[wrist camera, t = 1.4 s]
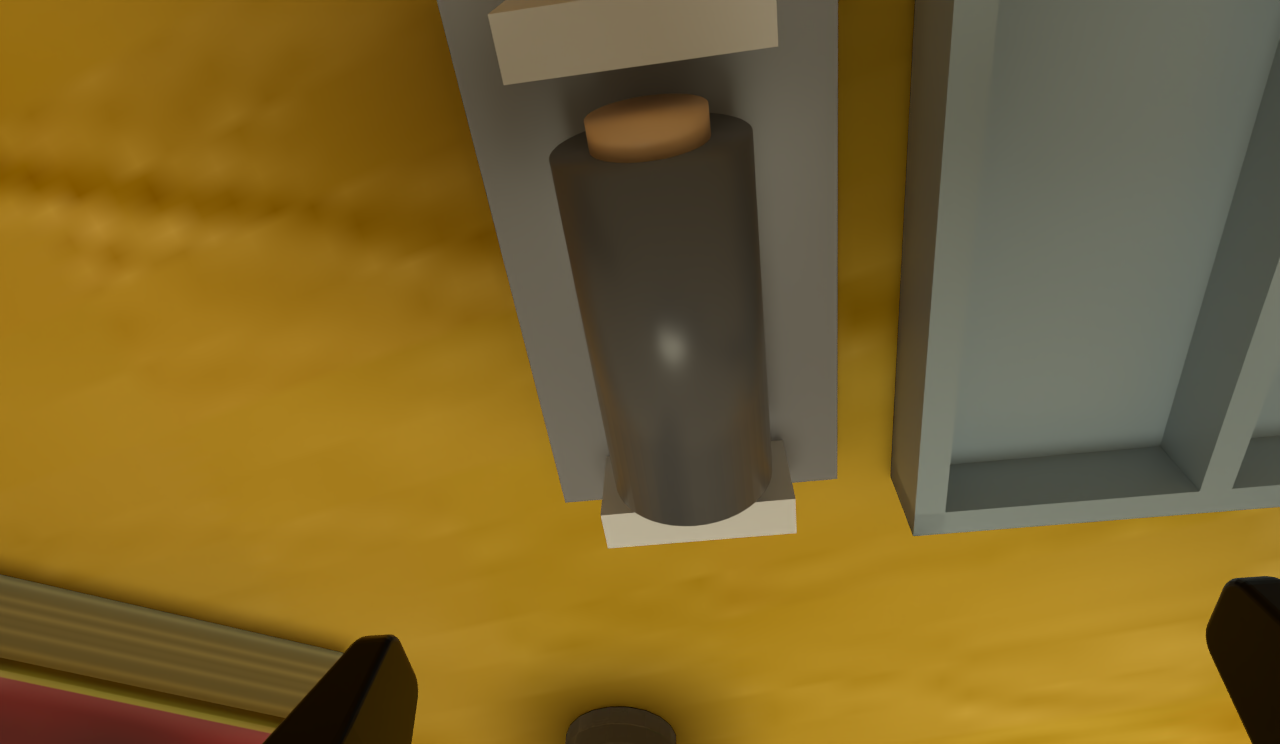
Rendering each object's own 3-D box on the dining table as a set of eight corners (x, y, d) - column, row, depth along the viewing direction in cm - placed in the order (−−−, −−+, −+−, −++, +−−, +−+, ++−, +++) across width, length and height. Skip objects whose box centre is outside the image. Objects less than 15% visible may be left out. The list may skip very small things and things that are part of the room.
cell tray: (1441, 428, 22) (1524, 487, 20) (890, 476, 23) (913, 535, 21) (1835, -304, 13) (2057, -339, 11) (923, -155, 15) (966, -161, 13)
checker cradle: (830, 456, 23) (854, 539, 20) (569, 480, 24) (556, 563, 21) (828, -81, 15) (866, -70, 13) (445, -21, 16) (398, 1, 13)
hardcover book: (327, 797, 35) (289, 900, 32) (-182, 696, 32) (-288, 799, 28) (364, 640, 29) (322, 746, 25) (-265, 493, 26) (-414, 593, 22)
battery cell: (762, 415, 21) (781, 518, 18) (618, 429, 21) (610, 533, 18) (741, 73, 16) (762, 125, 13) (555, 99, 16) (528, 156, 13)
